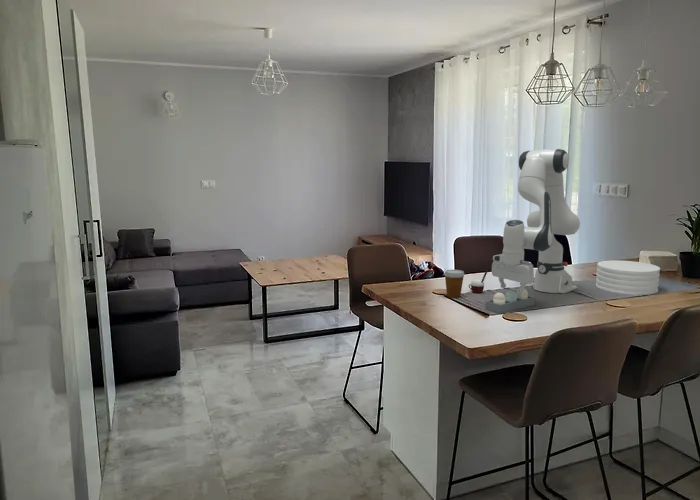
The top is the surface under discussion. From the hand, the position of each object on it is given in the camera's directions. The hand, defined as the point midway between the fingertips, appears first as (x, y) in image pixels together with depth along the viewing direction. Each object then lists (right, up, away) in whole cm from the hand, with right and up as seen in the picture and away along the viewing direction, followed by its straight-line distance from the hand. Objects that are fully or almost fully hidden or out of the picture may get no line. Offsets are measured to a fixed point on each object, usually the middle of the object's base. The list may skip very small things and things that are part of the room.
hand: (511, 290), depth 233 cm
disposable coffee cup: (-21, -5, +24) cm, 32 cm away
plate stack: (+69, -2, +39) cm, 80 cm away
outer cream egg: (-6, -8, -3) cm, 11 cm away
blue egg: (0, -8, +1) cm, 8 cm away
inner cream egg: (+6, -7, +5) cm, 10 cm away
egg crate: (0, -9, +1) cm, 9 cm away
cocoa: (-7, -4, +31) cm, 32 cm away
